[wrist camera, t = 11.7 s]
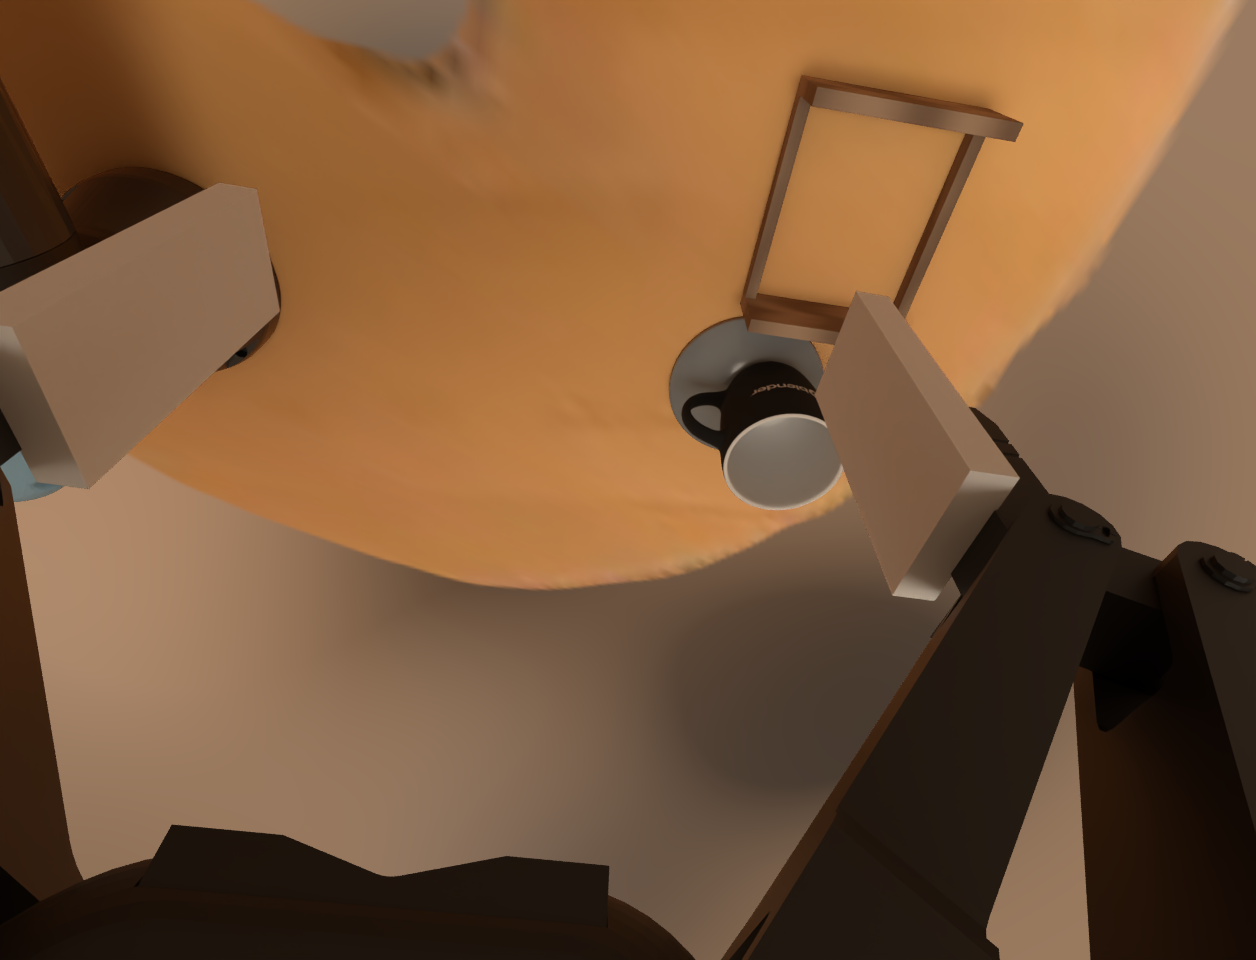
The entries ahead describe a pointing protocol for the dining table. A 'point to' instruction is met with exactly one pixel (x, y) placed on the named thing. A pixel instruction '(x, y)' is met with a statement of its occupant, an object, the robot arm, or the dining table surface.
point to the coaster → (732, 364)
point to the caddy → (977, 124)
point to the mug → (770, 437)
